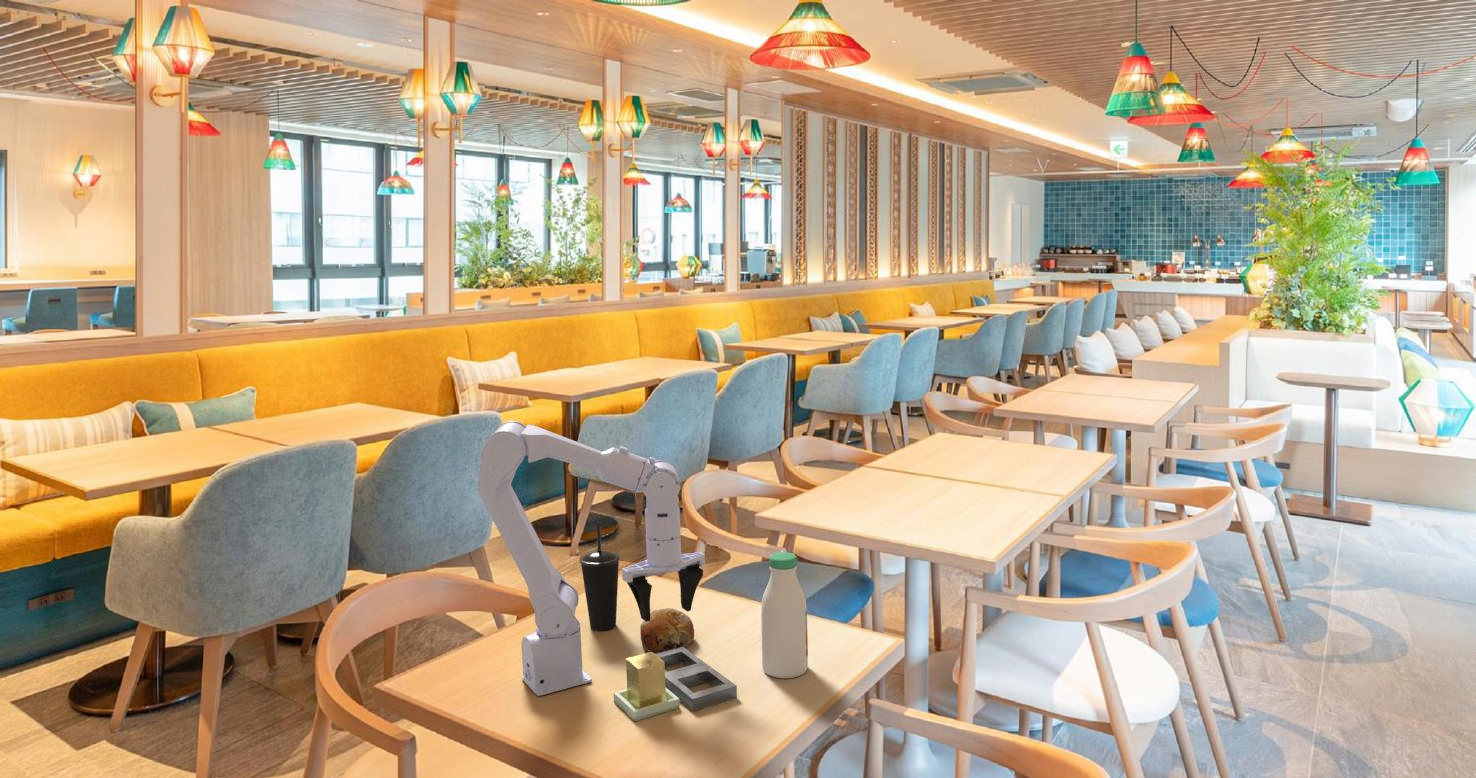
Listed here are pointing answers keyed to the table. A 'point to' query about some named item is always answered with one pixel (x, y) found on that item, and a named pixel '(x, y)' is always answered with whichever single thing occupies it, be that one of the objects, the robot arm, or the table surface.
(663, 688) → the wood grain cuboid
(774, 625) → the milk bottle
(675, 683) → the grey flat frame
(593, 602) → the drinking cup
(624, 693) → the tray
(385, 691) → the table surface
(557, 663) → the robot arm
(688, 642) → the bread roll
